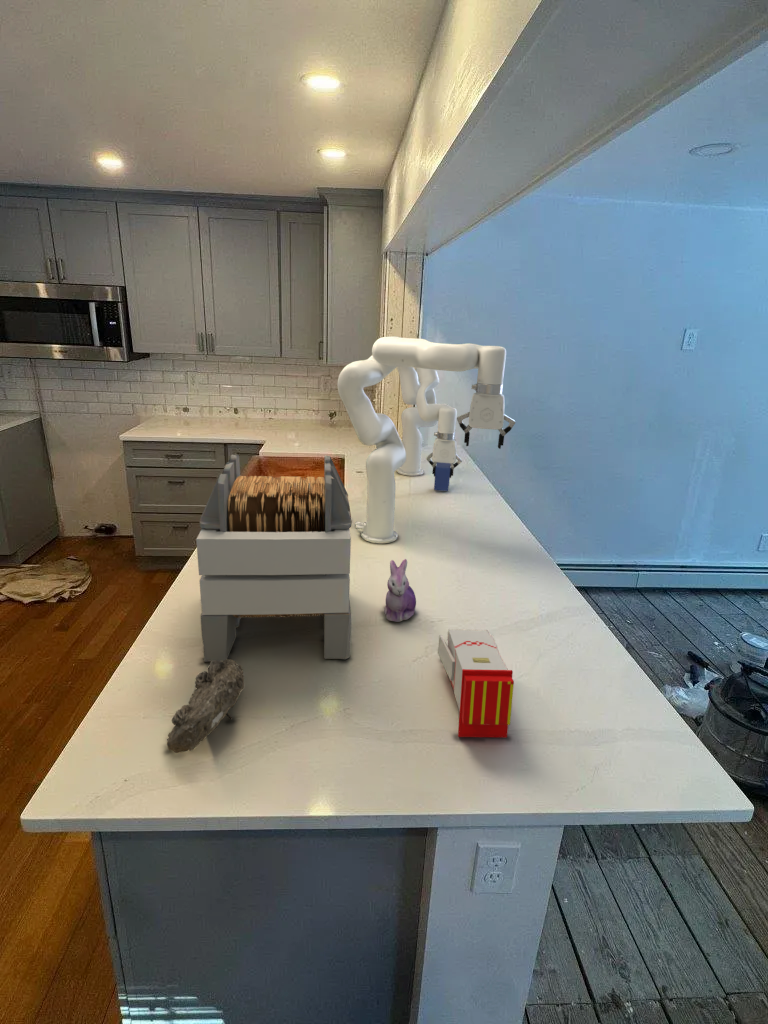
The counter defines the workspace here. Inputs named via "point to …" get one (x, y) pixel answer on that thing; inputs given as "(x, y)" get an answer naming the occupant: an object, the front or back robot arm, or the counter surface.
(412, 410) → the back robot arm
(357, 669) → the counter surface
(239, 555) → the record crate
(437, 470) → the block
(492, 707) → the toy
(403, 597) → the figurine
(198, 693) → the fossil
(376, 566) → the counter surface
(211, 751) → the counter surface
